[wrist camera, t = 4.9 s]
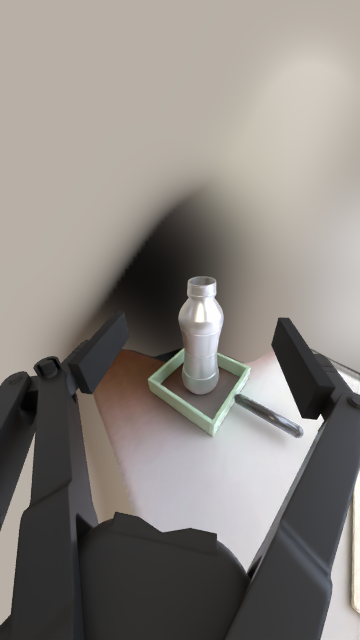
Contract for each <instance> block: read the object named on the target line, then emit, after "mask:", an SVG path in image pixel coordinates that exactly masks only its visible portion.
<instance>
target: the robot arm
mask: <svg viewBox="0 0 360 640" xmlns="http://www.w3.org/2000/svg"><path fill="white" fill-rule="evenodd" d="M128 338H129V332H128V328H127V324H126V320H125V315H124V312H115V313H114V314H113V315H112V316H111V317H110V319H109V320H108V321H107V322H106V323H105V324H104V325H103V326H102V327H101V328H100V329H99V330H98V331H97V332H96V333H95V334H94V336H93V337H92V338H91V339H90V340H86V341H84V342H82V343H81V344H80V345H79V346H78V347H77V348H76V349H75V350H74V351H73V352H72V353H71V354H70V355H69V356H68V357H67V358H66V359H65V360H64V361H63V362H62V363H60V361H59V359H58V358H57V357H55V356H51V357H47V358H44V359H42V360H40V361H39V362H37V363H36V364H35V366H34V370H35V372H36V373H37V376H31V377H30V376H29V375H28V374H27V372H24V371H23V372H18V373H15V374H13V375H11V376H9V377H8V378H6V379H5V380H4V381H3V383H2V384H1V386H0V530H1V527H2V524H3V522H4V519H5V516H6V513H7V510H8V507H9V505H10V501H11V499H12V496H13V493H14V490H15V488H16V485H17V482H18V479H19V476H20V473H21V471H22V468H23V465H24V462H25V459H26V456H27V453H28V451H29V448H30V445H31V442H32V439H33V436H34V434H35V446H34V460H33V474H32V488H31V500H30V505H29V507H28V508H27V509H26V510H25V511H24V512H23V514H22V517H21V522H20V529H19V538H18V549H17V558H16V569H15V578H14V588H13V598H12V608H11V615H10V616H9V617H8V618H7V619H6V620H5V621H4V622H3V623H2V624H1V625H0V640H320V639H321V635H322V631H323V627H324V623H325V620H326V616H327V612H328V608H329V604H330V600H331V595H332V581H331V569H332V565H333V562H334V558H335V555H336V551H337V548H338V544H339V541H340V537H341V533H342V530H343V526H344V523H345V519H346V516H347V512H348V509H349V505H350V501H351V498H352V494H353V491H354V487H355V484H356V480H357V477H358V473H359V470H360V395H359V394H356V393H353V391H352V390H351V389H350V387H349V386H348V385H347V383H346V382H345V381H344V379H343V378H342V377H341V375H340V374H339V373H338V371H337V370H336V369H335V368H334V366H333V365H332V363H331V362H330V361H329V360H328V359H327V358H325V357H324V356H323V355H321V354H313V353H312V351H311V350H310V348H309V347H308V345H307V344H306V342H305V341H304V339H303V338H302V336H301V335H300V333H299V332H298V330H297V329H296V327H295V326H294V325H293V323H292V322H291V320H290V319H289V318H278V322H277V326H276V329H275V333H274V337H273V341H272V344H271V345H272V347H273V350H274V352H275V355H276V357H277V359H278V362H279V364H280V367H281V369H282V371H283V374H284V376H285V379H286V381H287V383H288V386H289V388H290V391H291V393H292V395H293V398H294V400H295V403H296V405H297V407H298V410H299V412H300V414H301V417H302V418H305V419H314V420H317V419H318V417H319V415H320V414H321V415H322V417H323V419H324V422H323V423H322V425H321V427H320V428H319V430H318V433H317V435H316V437H315V439H314V441H313V443H312V445H311V447H310V449H309V451H308V453H307V455H306V457H305V459H304V461H303V463H302V465H301V467H300V469H299V471H298V473H297V475H296V477H295V479H294V481H293V483H292V485H291V487H290V489H289V491H288V493H287V495H286V497H285V499H284V501H283V503H282V505H281V507H280V509H279V511H278V513H277V515H276V517H275V519H274V521H273V523H272V525H271V527H270V529H269V531H268V533H267V535H266V537H265V539H264V541H263V543H262V545H261V546H260V548H259V550H258V552H257V554H256V555H255V557H254V559H253V561H252V563H251V565H250V567H249V569H248V571H247V573H246V571H245V570H244V568H243V566H242V565H241V564H240V562H239V561H238V559H237V558H236V557H235V556H234V555H233V553H232V552H231V551H230V550H229V549H228V548H227V547H225V546H224V545H223V544H222V543H220V542H219V541H217V534H215V533H211V532H206V531H202V530H197V529H192V528H187V529H182V530H176V531H170V532H160V531H159V530H157V529H156V528H154V527H153V526H151V525H150V524H148V523H147V522H146V521H144V520H143V519H141V518H140V517H137V516H132V515H128V514H124V513H119V512H115V514H114V518H113V519H109V520H107V521H104V522H102V523H100V524H98V519H97V515H96V512H95V509H94V506H93V502H92V496H91V489H90V482H89V475H88V468H87V461H86V454H85V447H84V441H83V434H82V426H81V420H80V412H79V406H78V399H77V394H76V390H77V389H78V388H79V389H80V391H81V392H82V393H86V394H92V393H93V392H94V390H95V389H96V387H97V386H98V384H99V382H100V381H101V379H102V378H103V376H104V375H105V373H106V372H107V370H108V369H109V367H110V366H111V364H112V363H113V361H114V359H115V358H116V356H117V355H118V353H119V352H120V350H121V349H122V347H123V345H124V344H125V343H126V341H127V339H128ZM35 431H36V432H35Z"/></svg>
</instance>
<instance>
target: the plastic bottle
mask: <svg viewBox="0 0 360 640" xmlns="http://www.w3.org/2000/svg"><path fill="white" fill-rule="evenodd" d="M187 295H188V297H189V299H188V300H187V301H186V303H185V304H184V305H183V307H182V309H181V310H180V313H179V324H180V328H181V332H182V337H183V345H184V365H183V369H182V379H183V383H184V385H185V387H186V388H187V389H188V390H189V391H191V392H192V393H195V394H206V393H209V392H210V391H212V390H213V389H214V388H215V387H216V385H217V382H218V379H219V370H218V365H217V348H218V341H219V336H220V333H221V329H222V325H223V319H224V316H223V312H222V309H221V307H220V306H219V304H218V302H217V301H216V300H215V298H214V296H216V280H215V279H213V278H211V277H195V278H192V279H190V280H189V281H188V291H187Z"/></svg>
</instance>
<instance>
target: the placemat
mask: <svg viewBox="0 0 360 640" xmlns="http://www.w3.org/2000/svg"><path fill="white" fill-rule="evenodd" d="M352 607H353V608H354V609H355V610H356V611H357V612H358V613H360V470H359V473H358V477H357V480H356V484H355V487H354V491H353V542H352Z"/></svg>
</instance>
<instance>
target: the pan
mask: <svg viewBox="0 0 360 640" xmlns="http://www.w3.org/2000/svg"><path fill="white" fill-rule="evenodd" d="M183 362H184V348H183V349H182V350H181V351H180V352H179V353H177V354H176V355H175V356H174V357H173V358H172V359H170V360H169V361H168V362H167V363H166V364H165V365H163V366H162V367H161V368H160V369H159V370H158V371H156V372H155V373H154V374H153V375H152V376H151V377H149V378H148V384H149V389H150V391H152V392H153V393H154V394H156V395H157V396H158V397H160V398H161V399H162V400H164V401H165V402H166V403H168V404H169V405H170V406H172V407H173V408H174V409H176V410H177V411H178V412H180V413H181V414H183V415H184V416H185V417H187V418H188V419H189V420H191V421H192V422H193V423H195V424H196V425H197V426H199V427H200V428H201V429H203V430H204V431H205V432H207V433H208V434H210V435H211V436H212V437H213V436H214V435H215V433H216V431H217V430H218V428H219V426H220V425H221V423H222V421H223V420H224V418H225V416H226V415H227V413H228V412H229V410H230V408H231V407H232V405H233V403H234V402H236V403H237V404H239V405H240V406H242V407H244V408H245V409H247V410H249V411H251V412H252V413H254V414H256V415H257V416H259V417H261V418H263V419H264V420H266V421H268V422H270V423H271V424H273V425H275V426H276V427H278V428H280V429H282V430H283V431H285V432H287V433H288V434H290V435H292V436H294V437H296V438H301V437H302V436H303V429H302V428H301V427H300V426H299V425H297V424H295V423H293V422H292V421H290V420H288V419H286V418H284V417H282V416H281V415H279V414H277V413H275V412H273V411H271V410H269V409H268V408H266V407H264V406H262V405H260V404H258V403H257V402H255V401H253V400H251V399H249V398H247V397H246V396H244V395H242V394H239V393H240V392H241V390H242V388H243V387H244V385H245V384H246V382H247V380H248V378H249V374H250V369H251V367H249V366H246V365H244V364H242V363H240V362H237V361H235V360H233V359H231V358H228V357H226V356H224V355H222V354H219V353H217V365H218V366H219V367H221V368H223V369H225V370H227V371H229V372H231V373H233V374H235V375H237V376H239V377H240V379H239V380H238V382H237V383H236V385H235V386H234V388H233V389H232V391H231V392H230V394H229V396H228V397H227V399H226V400H225V402H224V403H223V405H222V406H221V408H220V409H219V411H218V412H217V414H216V415H215V417H214V418H213V420H212V419H210V418H209V417H208V416H206V415H205V414H203V413H202V412H200V411H199V410H197V409H196V408H194V407H193V406H191V405H190V404H189V403H187V402H186V401H184V400H183V399H181V398H180V397H178V396H177V395H175V394H174V393H172V392H171V391H170V390H168V389H167V388H165V387H164V386H162V385H161V383H162V382H163V381H164V380H165V379H166V378H167V377H168V376H169V375H170V374H171V373H172V372H174V371H175V370H176V369H177V368H178V367H179V366H180V365H181V364H182V363H183Z"/></svg>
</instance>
